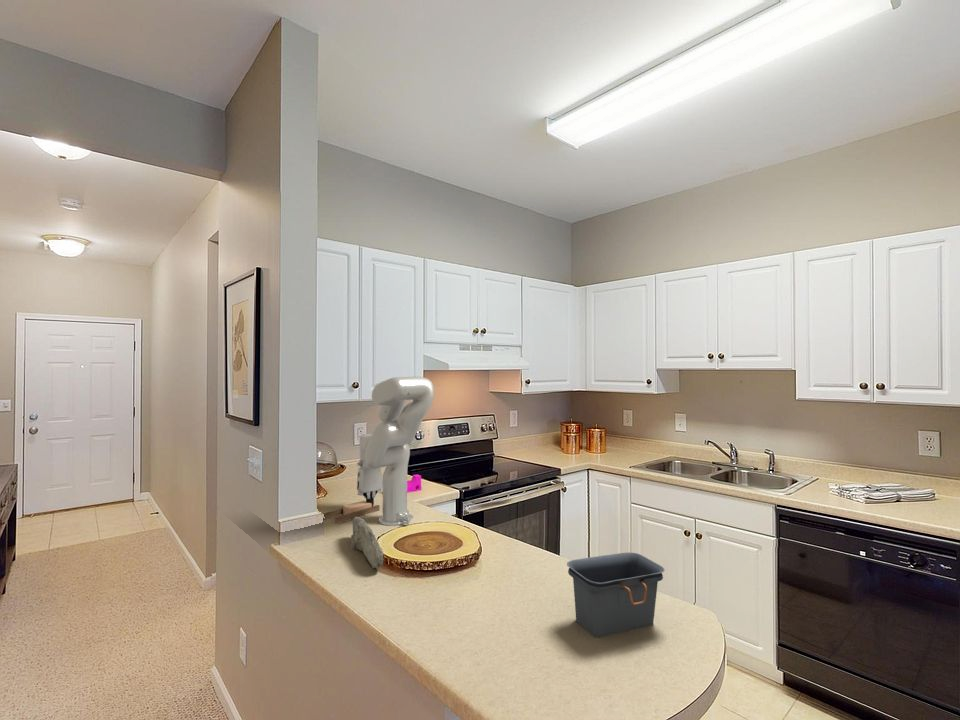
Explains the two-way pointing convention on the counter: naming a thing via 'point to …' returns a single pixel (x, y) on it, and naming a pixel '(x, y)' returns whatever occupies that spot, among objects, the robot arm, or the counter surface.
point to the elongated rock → (366, 542)
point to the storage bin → (614, 592)
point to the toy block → (414, 484)
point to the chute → (350, 515)
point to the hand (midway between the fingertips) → (369, 507)
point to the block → (355, 507)
